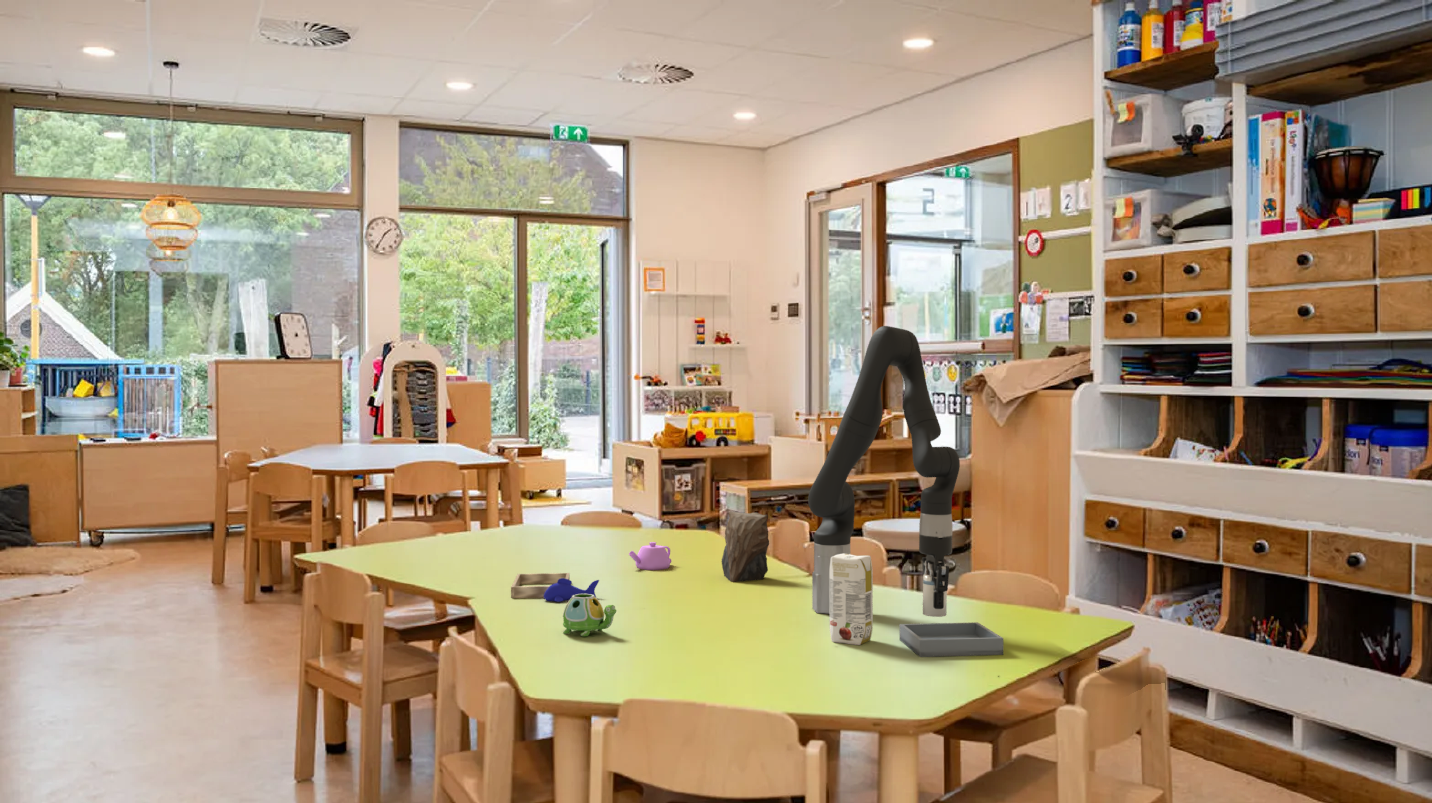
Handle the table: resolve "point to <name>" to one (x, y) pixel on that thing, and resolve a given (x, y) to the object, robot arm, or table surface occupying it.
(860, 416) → the robot arm
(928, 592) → the cup
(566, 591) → the fish toy
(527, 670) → the table surface
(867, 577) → the juice carton
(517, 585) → the toy crate
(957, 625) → the tray
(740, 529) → the bark-textured rock
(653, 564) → the teapot
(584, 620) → the turtle holder
